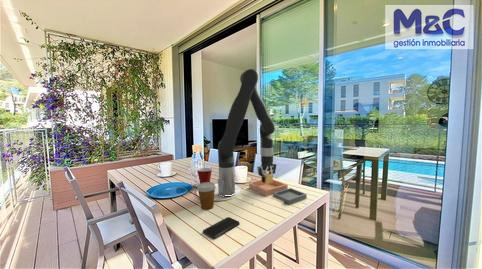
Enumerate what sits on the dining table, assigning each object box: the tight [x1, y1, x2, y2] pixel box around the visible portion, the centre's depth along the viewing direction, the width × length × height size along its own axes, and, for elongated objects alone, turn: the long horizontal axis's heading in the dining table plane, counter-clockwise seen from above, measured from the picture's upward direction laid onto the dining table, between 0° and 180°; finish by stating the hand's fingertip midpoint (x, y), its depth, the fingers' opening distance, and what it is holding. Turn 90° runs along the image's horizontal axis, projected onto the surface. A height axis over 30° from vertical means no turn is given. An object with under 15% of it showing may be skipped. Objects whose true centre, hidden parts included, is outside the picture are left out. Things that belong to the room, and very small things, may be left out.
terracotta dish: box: [248, 178, 289, 197], centre depth 128 cm, size 17×17×4 cm
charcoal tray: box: [272, 187, 308, 205], centre depth 115 cm, size 14×12×2 cm
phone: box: [202, 216, 240, 240], centre depth 86 cm, size 8×1×15 cm
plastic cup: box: [196, 167, 213, 184], centre depth 138 cm, size 11×11×12 cm
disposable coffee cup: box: [196, 181, 217, 211], centre depth 105 cm, size 10×10×12 cm
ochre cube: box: [260, 172, 274, 184], centre depth 127 cm, size 5×5×5 cm
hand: (267, 181), depth 128 cm, fingers closed on ochre cube, 5 cm apart
